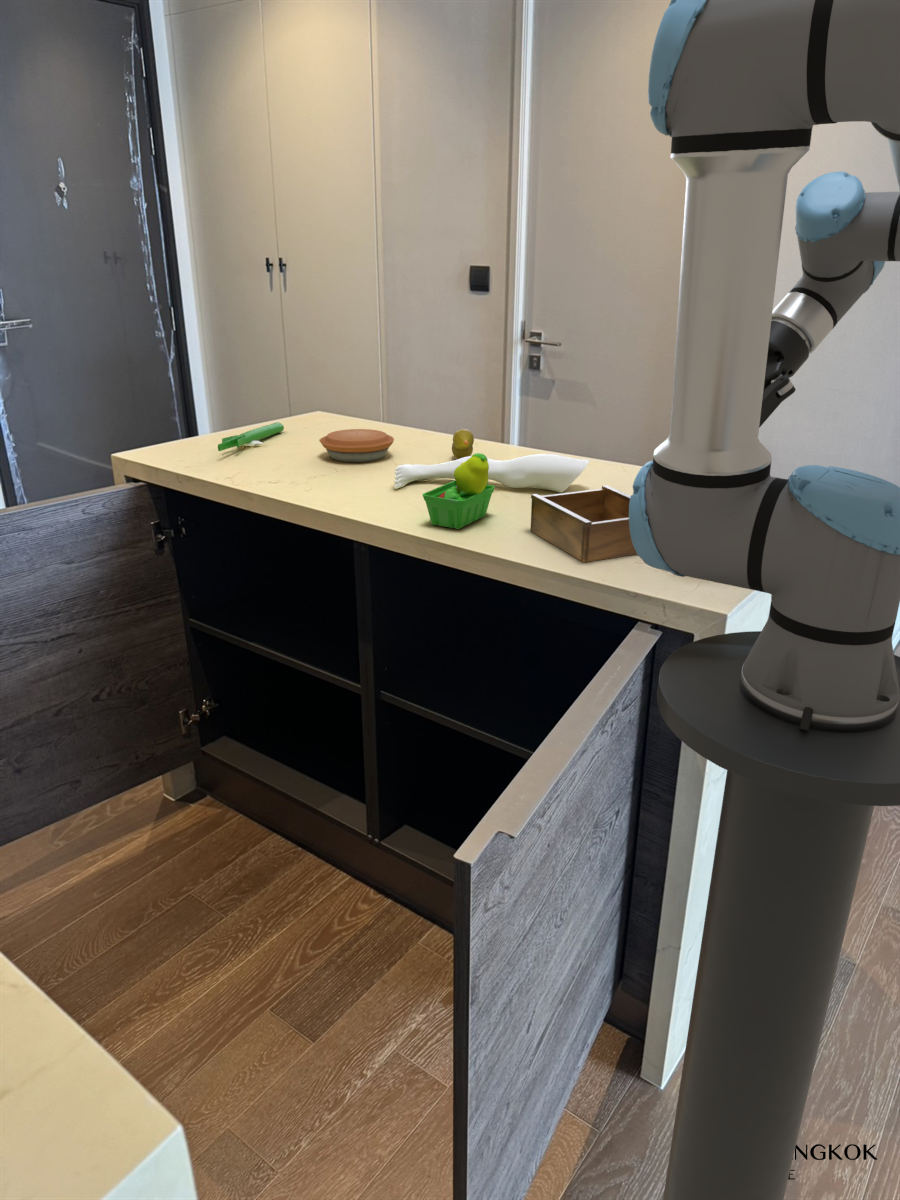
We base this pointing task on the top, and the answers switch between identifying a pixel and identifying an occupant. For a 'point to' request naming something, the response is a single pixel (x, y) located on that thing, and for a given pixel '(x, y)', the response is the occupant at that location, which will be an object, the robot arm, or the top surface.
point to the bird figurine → (462, 443)
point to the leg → (505, 471)
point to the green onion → (250, 436)
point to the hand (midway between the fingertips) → (671, 473)
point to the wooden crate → (585, 523)
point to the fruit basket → (461, 495)
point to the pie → (357, 445)
